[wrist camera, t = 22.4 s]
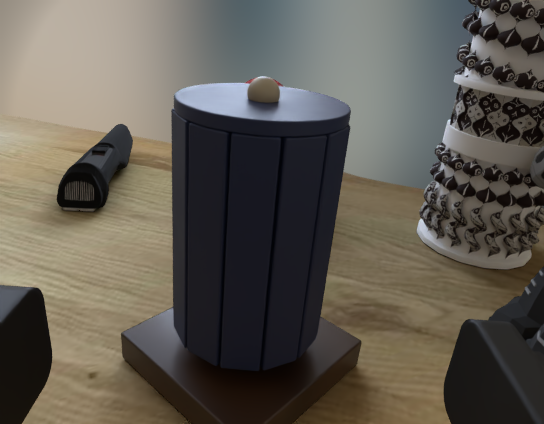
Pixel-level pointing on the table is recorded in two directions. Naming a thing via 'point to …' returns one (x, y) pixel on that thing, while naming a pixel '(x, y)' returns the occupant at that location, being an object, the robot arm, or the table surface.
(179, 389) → the hat peg
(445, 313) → the table surface
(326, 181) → the slatted storage jar
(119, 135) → the electric trimmer
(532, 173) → the robot
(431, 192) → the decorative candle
